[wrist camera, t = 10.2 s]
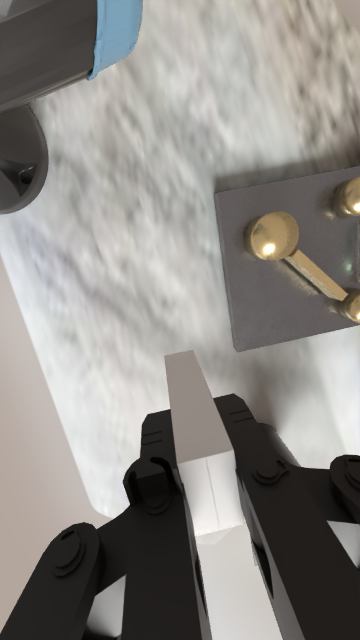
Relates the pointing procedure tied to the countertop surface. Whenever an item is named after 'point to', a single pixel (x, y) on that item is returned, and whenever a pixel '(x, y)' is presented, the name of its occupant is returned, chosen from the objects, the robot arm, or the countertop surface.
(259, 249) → the brass ladle
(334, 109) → the countertop surface
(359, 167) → the levelling base
